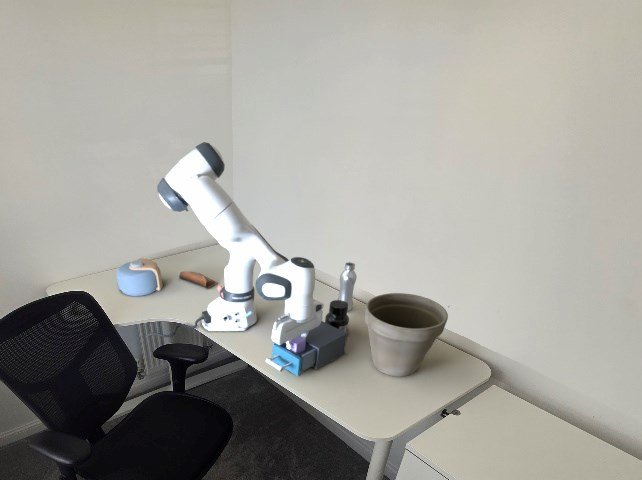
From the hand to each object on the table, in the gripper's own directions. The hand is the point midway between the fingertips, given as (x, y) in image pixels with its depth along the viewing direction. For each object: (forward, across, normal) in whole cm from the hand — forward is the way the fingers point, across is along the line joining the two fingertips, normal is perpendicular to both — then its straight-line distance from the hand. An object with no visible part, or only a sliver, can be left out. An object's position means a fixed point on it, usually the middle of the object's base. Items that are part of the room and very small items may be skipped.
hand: (295, 345), depth 147 cm
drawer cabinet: (+8, +11, 0) cm, 14 cm away
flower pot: (+8, +26, -22) cm, 35 cm away
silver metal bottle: (+8, +45, +15) cm, 48 cm away
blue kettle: (+8, -9, +91) cm, 92 cm away
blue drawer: (+7, -1, 0) cm, 7 cm away
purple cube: (+2, 0, 0) cm, 2 cm away
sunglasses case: (+8, +15, +79) cm, 81 cm away
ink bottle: (+8, +28, +5) cm, 30 cm away
